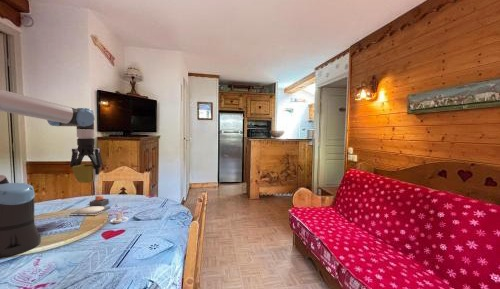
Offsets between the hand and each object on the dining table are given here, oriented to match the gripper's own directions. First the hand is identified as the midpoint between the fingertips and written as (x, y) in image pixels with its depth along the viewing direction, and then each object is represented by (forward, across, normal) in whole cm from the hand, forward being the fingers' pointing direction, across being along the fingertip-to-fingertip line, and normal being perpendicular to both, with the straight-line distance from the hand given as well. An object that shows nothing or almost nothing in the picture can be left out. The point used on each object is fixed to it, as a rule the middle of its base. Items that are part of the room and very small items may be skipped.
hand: (87, 180), depth 123 cm
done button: (+16, +4, -16) cm, 23 cm away
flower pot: (+1, 0, 0) cm, 1 cm away
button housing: (+19, +4, -16) cm, 25 cm away
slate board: (+18, +1, -4) cm, 19 cm away
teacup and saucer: (+19, -19, +10) cm, 29 cm away
